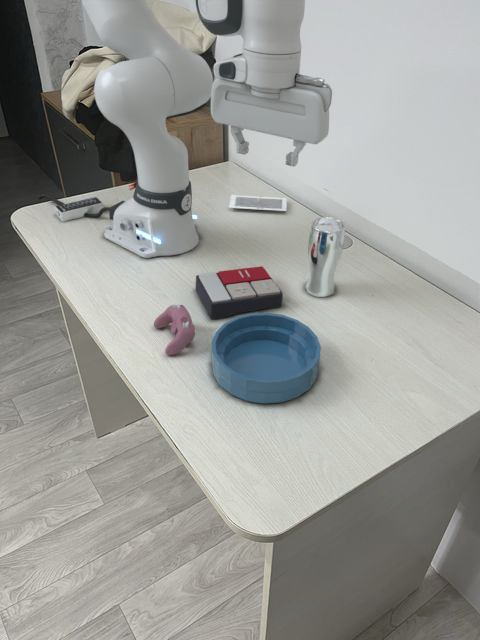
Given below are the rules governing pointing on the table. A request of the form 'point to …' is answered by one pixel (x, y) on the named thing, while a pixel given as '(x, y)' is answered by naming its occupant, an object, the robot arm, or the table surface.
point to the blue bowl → (265, 357)
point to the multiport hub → (78, 208)
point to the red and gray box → (237, 291)
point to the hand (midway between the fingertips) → (266, 158)
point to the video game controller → (177, 327)
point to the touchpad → (258, 202)
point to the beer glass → (324, 255)
